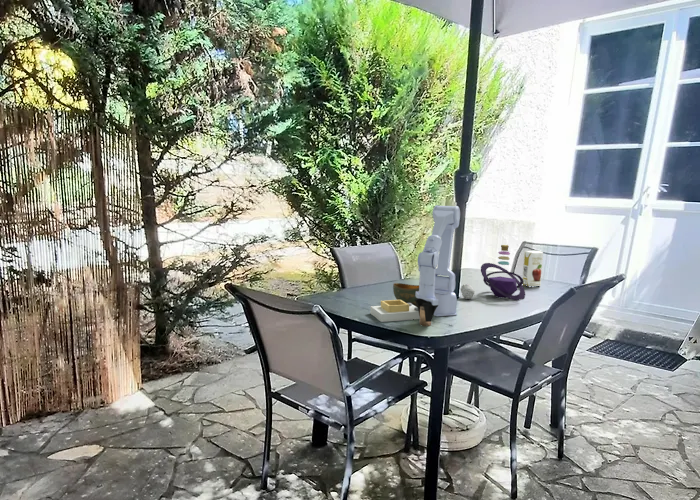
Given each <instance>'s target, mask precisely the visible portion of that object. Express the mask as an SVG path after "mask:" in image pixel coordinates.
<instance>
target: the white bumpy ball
mask: <svg viewBox="0 0 700 500" xmlns="http://www.w3.org/2000/svg"><path fill="white" fill-rule="evenodd" d="M460 292H461V295H462V297H463V299H466V300H470V299H472V298H473V296H475V289H474V288H473V286H472V285H470V284H468V283H464V284H462V285H461V286H460Z"/></svg>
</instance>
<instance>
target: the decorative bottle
mask: <svg viewBox="0 0 700 500" xmlns="http://www.w3.org/2000/svg"><path fill="white" fill-rule="evenodd" d="M500 247H501V248H500V250H501V251H498V254H499V255H502V256H498V257H497V259H498V260H500V261H498V262H497V264H498V265H497V264H496V263H490V262H485V263H482V265H481V266H480V273H481V275H482V278H483V282H484V284H485V285H486V286H488V287H489V288H490V290H491V292H492V294H493V295H494V297H496V298H499V297H500V299H501V298H502V299H507V298H508V299H511V300H514V301H520V300H519V299H522V300H523V299H525V297H526V291H525V288H524V286H523V285H522V284H523V279H522V276H520V275H519V274H517V273H514V272H510V271H508V270H507V269H506V268H504V267H502V266H509V265H510V262H509V260H510V257H509V255H510V254H511V253H510V251H509V245H508V244H501V245H500ZM500 265H502V266H500ZM489 268H493V269H494V268H495V269H498V270H499V271H498V270H497V271H492V272H490V273H487V270H488V269H489ZM495 274H507V275H508V276H509V277H507V276H494V275H495ZM491 275H492V277H489V276H491ZM518 279H519V280H518ZM518 288H519V293H518V294H517V295H515V292H517V291H518Z"/></svg>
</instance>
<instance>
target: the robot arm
mask: <svg viewBox="0 0 700 500" xmlns="http://www.w3.org/2000/svg"><path fill="white" fill-rule="evenodd" d="M432 208H433V209H432V219H433V222H434V223H433V228H432V230H431V235H429V236H427V239H426V241H425V243H424V247H423V250H422V251H421V252H420V253H419V254H418V257H417V267H418V273H419V279H418V280H419V284H418V285H419V291H416V295H415V296H416V298H418V299H415V302H416V304H417V307H418V311H419V316H420V306H421V305H423V307H424V310H425V320H426V322H431V323H432V321H433V318H434V316H435V317H445V316H446V317H447V316H458V314H457V302H458V300H457V295H456V293H455V290H456V274H455V273H454V272H453V271H452V270H451V269H450V266H451V258H452V249H453V241H454V232H455V229H457V228H459V225H460V220H461V219H460V218H461V210H460V207H459V206H458V205H455V206H453V205H437V204H436V205H434V206H433V207H432Z"/></svg>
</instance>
